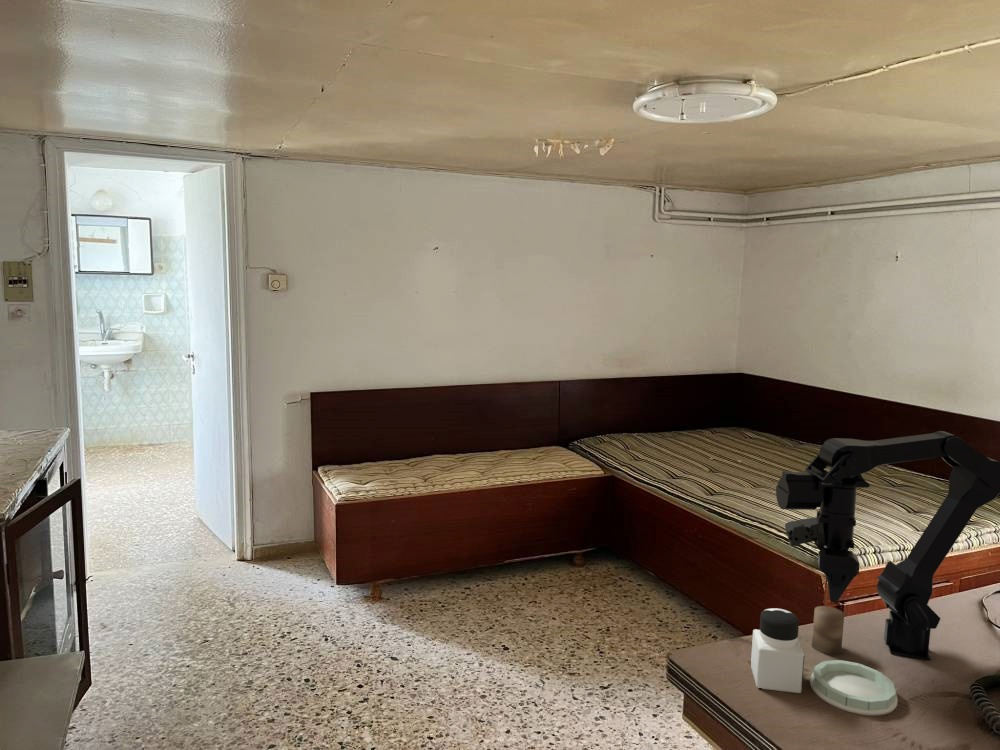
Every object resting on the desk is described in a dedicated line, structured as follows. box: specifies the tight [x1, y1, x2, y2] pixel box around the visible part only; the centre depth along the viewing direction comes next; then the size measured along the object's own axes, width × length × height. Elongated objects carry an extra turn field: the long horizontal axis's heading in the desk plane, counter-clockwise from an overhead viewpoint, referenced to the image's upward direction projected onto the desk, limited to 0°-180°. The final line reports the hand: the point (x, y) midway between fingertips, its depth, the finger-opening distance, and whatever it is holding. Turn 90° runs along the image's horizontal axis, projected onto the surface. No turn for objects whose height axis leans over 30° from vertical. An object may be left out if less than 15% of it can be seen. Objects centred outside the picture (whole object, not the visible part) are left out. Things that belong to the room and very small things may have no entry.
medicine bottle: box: [750, 607, 805, 694], centre depth 120 cm, size 7×7×12 cm
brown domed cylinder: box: [811, 605, 845, 656], centre depth 131 cm, size 5×5×7 cm
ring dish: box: [809, 659, 899, 716], centre depth 117 cm, size 13×13×2 cm
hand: (831, 591), depth 130 cm, fingers open, 9 cm apart
